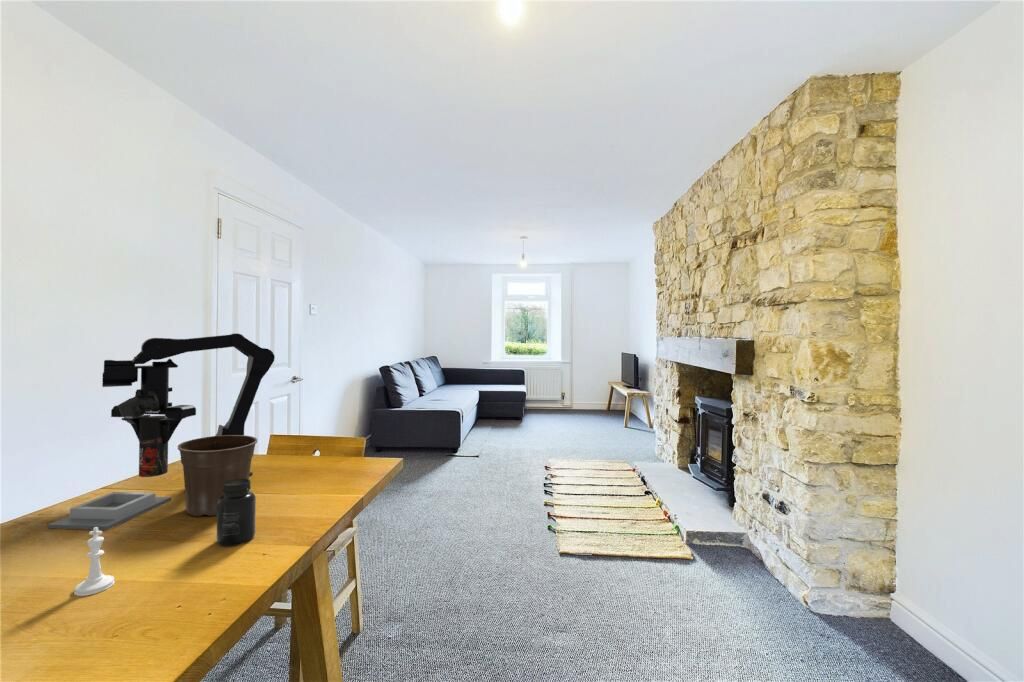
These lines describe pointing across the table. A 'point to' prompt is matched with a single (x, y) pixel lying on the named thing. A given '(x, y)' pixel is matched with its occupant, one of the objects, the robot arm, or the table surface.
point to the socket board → (109, 510)
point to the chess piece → (94, 569)
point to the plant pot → (213, 468)
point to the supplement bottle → (236, 513)
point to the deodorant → (152, 448)
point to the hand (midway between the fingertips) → (153, 443)
